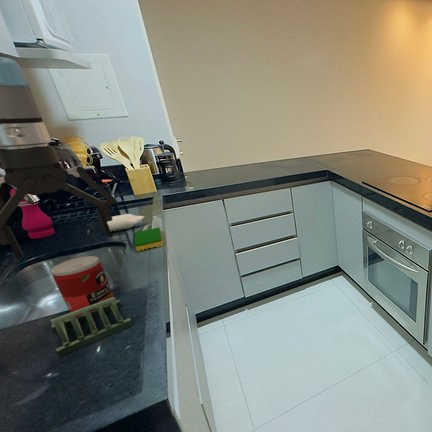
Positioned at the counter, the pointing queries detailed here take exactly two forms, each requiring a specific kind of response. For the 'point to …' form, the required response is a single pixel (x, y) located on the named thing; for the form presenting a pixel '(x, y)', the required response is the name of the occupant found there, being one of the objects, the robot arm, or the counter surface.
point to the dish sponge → (148, 239)
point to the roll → (123, 222)
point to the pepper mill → (35, 220)
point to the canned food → (82, 282)
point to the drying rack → (96, 335)
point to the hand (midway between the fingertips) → (68, 245)
